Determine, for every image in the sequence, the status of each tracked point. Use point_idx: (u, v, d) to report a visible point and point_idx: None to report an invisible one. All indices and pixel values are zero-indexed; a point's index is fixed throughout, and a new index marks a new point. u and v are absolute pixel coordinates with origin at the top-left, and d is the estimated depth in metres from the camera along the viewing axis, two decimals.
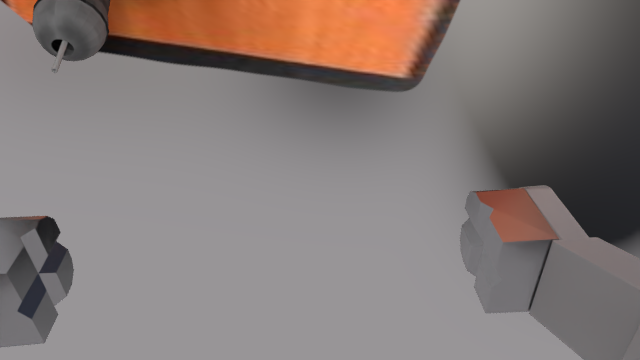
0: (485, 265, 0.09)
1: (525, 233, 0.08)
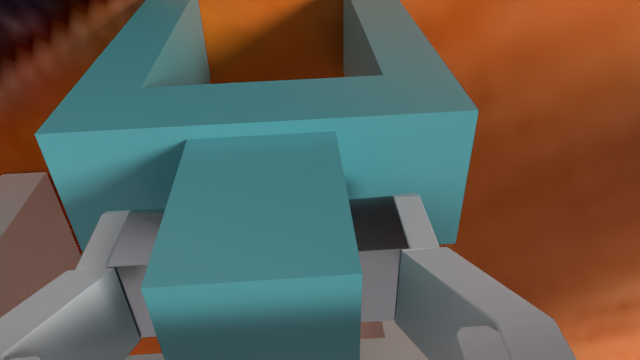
0: None
1: (377, 242, 0.08)
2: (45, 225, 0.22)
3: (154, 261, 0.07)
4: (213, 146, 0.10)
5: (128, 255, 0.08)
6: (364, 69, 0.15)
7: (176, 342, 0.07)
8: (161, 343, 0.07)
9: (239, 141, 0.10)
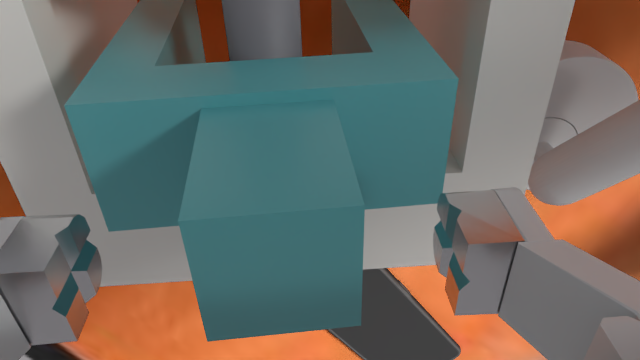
0: (454, 267, 0.09)
1: (491, 235, 0.08)
2: None
3: (186, 201, 0.08)
4: (225, 113, 0.11)
5: (7, 262, 0.08)
6: (354, 51, 0.16)
7: (206, 272, 0.09)
8: (193, 274, 0.09)
9: (248, 109, 0.11)
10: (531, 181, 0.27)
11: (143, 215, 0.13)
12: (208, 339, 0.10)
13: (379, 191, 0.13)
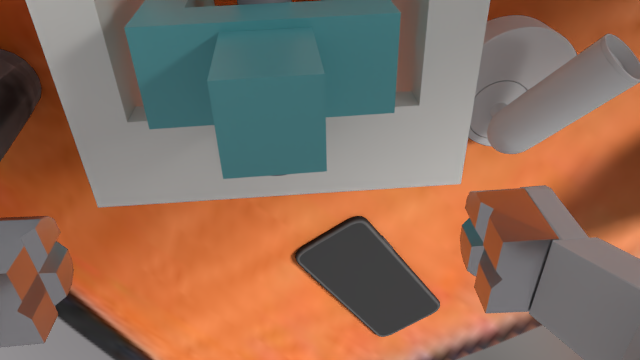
0: (485, 265, 0.09)
1: (525, 233, 0.08)
2: None
3: (212, 73, 0.13)
4: (236, 34, 0.16)
5: None
6: None
7: (223, 121, 0.13)
8: (215, 122, 0.13)
9: (252, 31, 0.16)
10: (489, 133, 0.32)
11: (175, 116, 0.17)
12: (223, 177, 0.14)
13: (348, 101, 0.18)
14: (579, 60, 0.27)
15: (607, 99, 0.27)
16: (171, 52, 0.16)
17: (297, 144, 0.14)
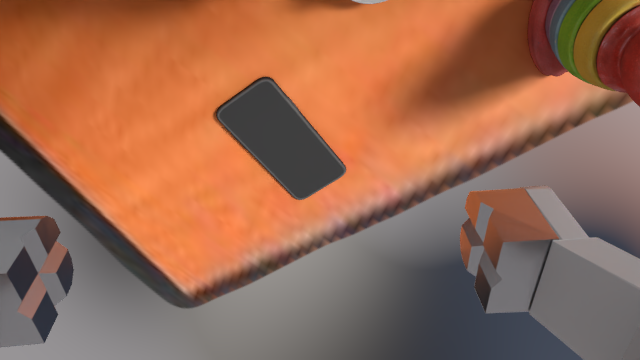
0: (485, 265, 0.09)
1: (525, 233, 0.08)
2: None
3: None
4: None
5: None
6: None
7: None
8: None
9: None
10: None
11: None
12: None
13: None
14: None
15: None
16: None
17: None
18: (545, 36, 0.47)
